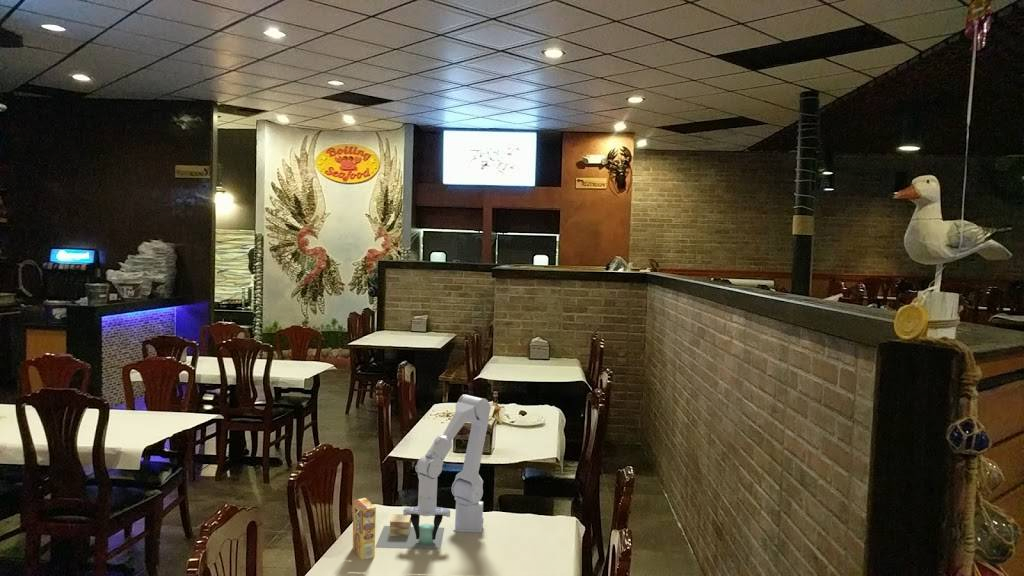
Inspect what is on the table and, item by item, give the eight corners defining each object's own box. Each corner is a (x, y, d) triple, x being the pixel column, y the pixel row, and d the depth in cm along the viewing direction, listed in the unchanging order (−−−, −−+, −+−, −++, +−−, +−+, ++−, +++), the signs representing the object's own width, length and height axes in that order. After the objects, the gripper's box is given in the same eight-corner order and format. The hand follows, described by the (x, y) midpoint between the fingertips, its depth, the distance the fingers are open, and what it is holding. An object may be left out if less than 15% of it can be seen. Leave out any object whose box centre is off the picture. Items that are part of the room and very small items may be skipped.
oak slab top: (411, 521, 209) (411, 514, 209) (408, 529, 203) (408, 522, 203) (392, 521, 209) (393, 514, 209) (389, 528, 203) (390, 521, 203)
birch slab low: (410, 528, 209) (411, 521, 209) (408, 536, 203) (408, 529, 203) (392, 528, 209) (392, 521, 209) (389, 535, 203) (389, 528, 203)
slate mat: (444, 528, 211) (444, 527, 211) (440, 550, 195) (440, 549, 195) (384, 526, 211) (384, 525, 211) (375, 548, 195) (375, 547, 195)
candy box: (375, 557, 189) (377, 507, 188) (361, 561, 186) (363, 509, 186) (364, 546, 196) (366, 497, 195) (351, 549, 194) (352, 499, 193)
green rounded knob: (433, 539, 202) (434, 523, 202) (432, 545, 197) (433, 530, 197) (419, 539, 202) (419, 523, 202) (417, 545, 197) (418, 529, 197)
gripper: (402, 499, 195) (400, 542, 195) (449, 500, 195) (448, 544, 196) (405, 491, 202) (404, 533, 202) (451, 492, 202) (449, 534, 203)
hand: (425, 538), depth 200 cm, fingers closed on green rounded knob, 5 cm apart
